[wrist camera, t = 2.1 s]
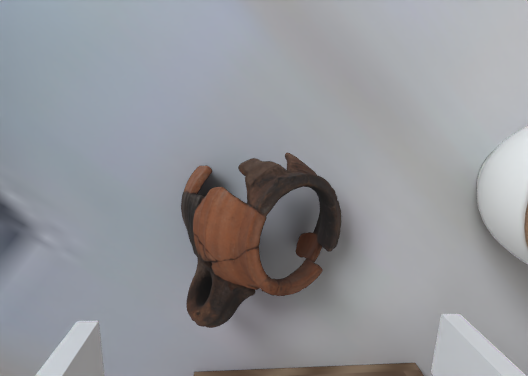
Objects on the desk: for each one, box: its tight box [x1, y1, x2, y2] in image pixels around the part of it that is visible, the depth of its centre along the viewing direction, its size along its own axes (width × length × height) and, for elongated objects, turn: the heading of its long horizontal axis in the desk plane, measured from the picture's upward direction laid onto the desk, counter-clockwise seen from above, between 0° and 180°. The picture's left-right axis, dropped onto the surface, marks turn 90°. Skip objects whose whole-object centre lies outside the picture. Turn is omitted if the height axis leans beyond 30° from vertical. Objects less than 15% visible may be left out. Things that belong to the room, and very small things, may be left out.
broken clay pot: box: [181, 153, 341, 328], centre depth 22 cm, size 12×10×8 cm
